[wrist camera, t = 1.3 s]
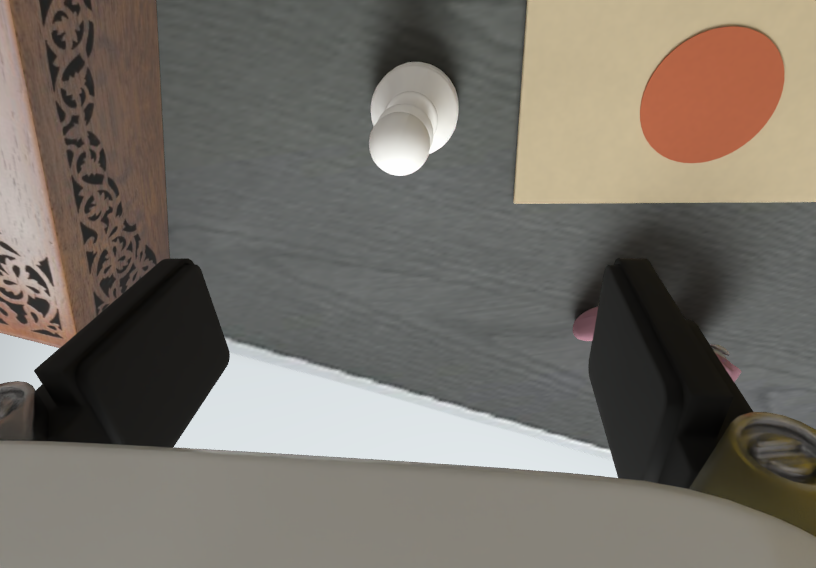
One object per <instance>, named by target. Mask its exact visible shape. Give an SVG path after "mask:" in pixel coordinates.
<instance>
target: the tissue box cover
mask: <svg viewBox="0 0 816 568" xmlns="http://www.w3.org/2000/svg"><path fill="white" fill-rule="evenodd" d="M163 259H170V258H169V239H168V220H167V200H166V181H165V162H164V143H163V124H162V104H161V85H160V66H159V47H158V28H157V9H156V0H0V333H4V334H7V335H11V336H15V337H19V338H23V339H27V340H31V341H35V342H38V343H42V344H47V345H50V346H54V347H58V348H61V347H62V346H63V345H64V344H65V343H66V342H68V341H69V340H70V339H71V338H72V337H73V336H74V335H76V334H77V333H78V332H79V331H80V330H81V329H83V328H84V327H85V326H86V325H87V324H88V323H90V322H91V321H92V320H93V319H94V318H95V317H96V316H98V315H99V314H100V313H101V312H102V311H103V310H105V309H106V308H107V307H108V306H109V305H110V304H111V303H113V302H114V301H115V300H116V299H117V298H118V297H120V296H121V295H122V294H123V293H124V292H125V291H126V290H128V289H129V288H130V287H131V286H132V285H133V284H135V283H136V282H137V281H138V280H139V279H140V278H142V277H143V276H144V275H145V274H146V273H147V272H148V271H150V270H151V269H152V268H153V267H154V266H155V265H157V264H158V263H159V262H160V261H161V260H163Z"/></svg>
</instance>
